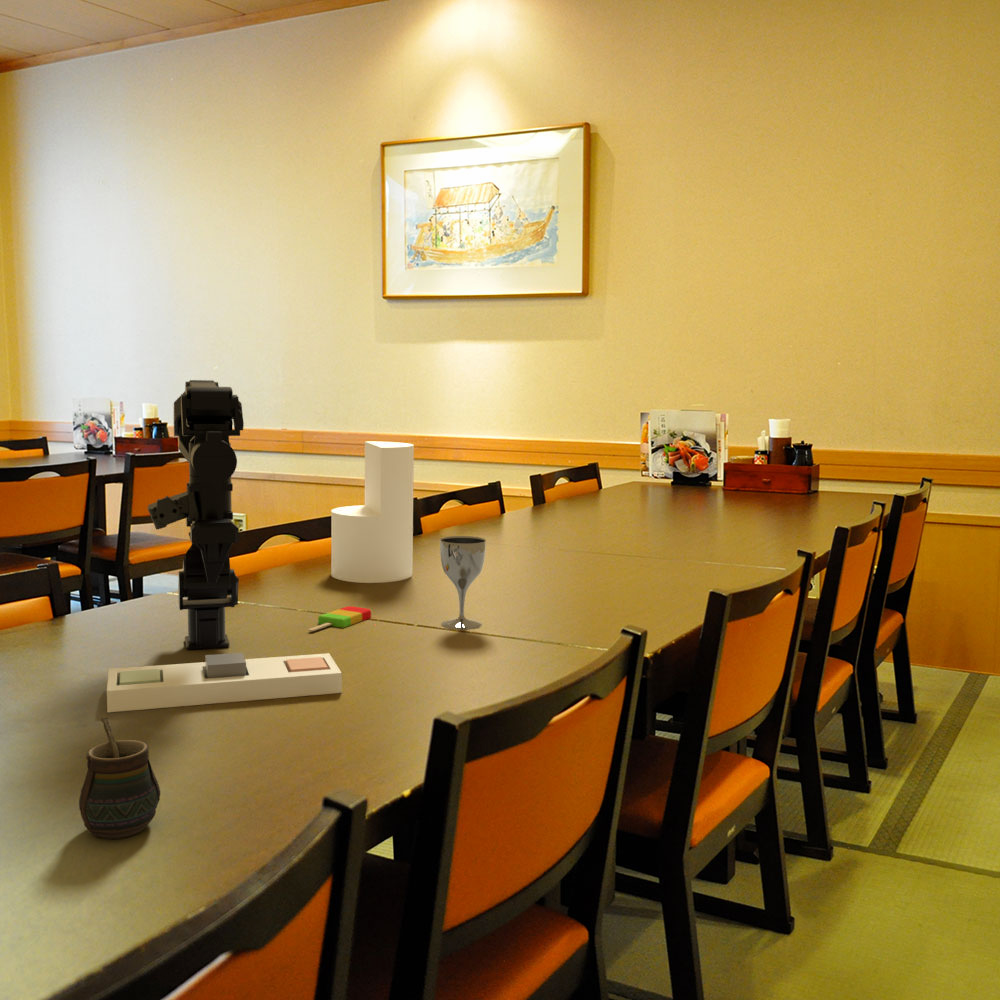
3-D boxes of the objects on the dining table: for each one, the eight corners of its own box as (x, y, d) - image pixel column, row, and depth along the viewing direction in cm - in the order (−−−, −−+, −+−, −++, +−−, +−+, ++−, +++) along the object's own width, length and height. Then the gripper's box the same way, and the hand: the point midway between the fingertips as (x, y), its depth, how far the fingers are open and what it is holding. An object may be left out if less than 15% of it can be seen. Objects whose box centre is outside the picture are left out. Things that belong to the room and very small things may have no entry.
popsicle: (373, 619, 184) (374, 608, 183) (323, 637, 170) (323, 626, 170) (348, 615, 186) (348, 605, 186) (296, 633, 173) (296, 622, 172)
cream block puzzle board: (109, 688, 140) (109, 668, 140) (329, 671, 150) (329, 653, 149) (107, 712, 131) (106, 691, 130) (341, 692, 140) (341, 672, 140)
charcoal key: (205, 672, 141) (205, 655, 141) (242, 670, 143) (242, 652, 143) (207, 683, 137) (207, 665, 136) (246, 680, 138) (246, 662, 138)
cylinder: (402, 565, 231) (403, 441, 228) (420, 580, 215) (422, 447, 211) (325, 568, 226) (325, 441, 222) (338, 584, 209) (338, 447, 206)
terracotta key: (286, 676, 145) (286, 659, 145) (321, 674, 147) (321, 657, 147) (291, 687, 141) (291, 669, 140) (327, 684, 142) (327, 666, 142)
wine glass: (462, 616, 185) (464, 534, 183) (493, 625, 179) (495, 540, 177) (429, 623, 179) (430, 539, 177) (459, 632, 174) (461, 545, 172)
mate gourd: (103, 854, 93) (98, 748, 92) (64, 829, 98) (59, 728, 97) (174, 828, 99) (170, 728, 97) (134, 805, 104) (130, 710, 102)
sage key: (120, 689, 138) (120, 671, 138) (160, 686, 140) (159, 668, 139) (120, 701, 133) (119, 682, 133) (160, 697, 135) (160, 679, 135)
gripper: (149, 469, 152) (152, 573, 154) (151, 483, 134) (153, 600, 136) (227, 468, 155) (228, 569, 157) (238, 482, 138) (239, 595, 140)
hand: (211, 583), depth 148 cm, fingers closed
